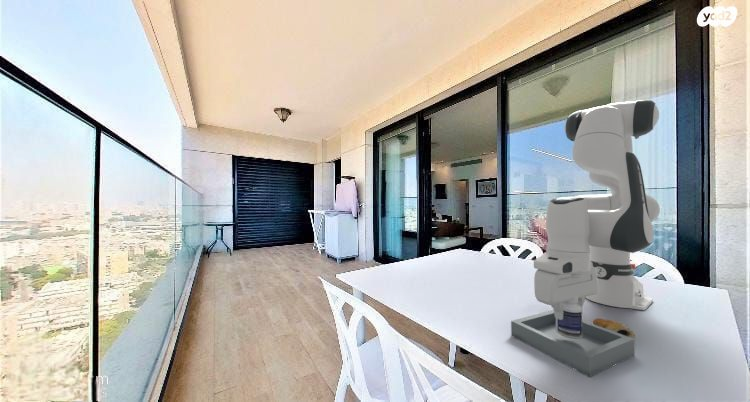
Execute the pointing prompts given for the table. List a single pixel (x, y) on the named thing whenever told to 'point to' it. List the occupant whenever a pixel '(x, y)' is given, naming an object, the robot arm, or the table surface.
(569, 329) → the pill bottle
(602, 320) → the pastry
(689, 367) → the table surface
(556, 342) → the tray
